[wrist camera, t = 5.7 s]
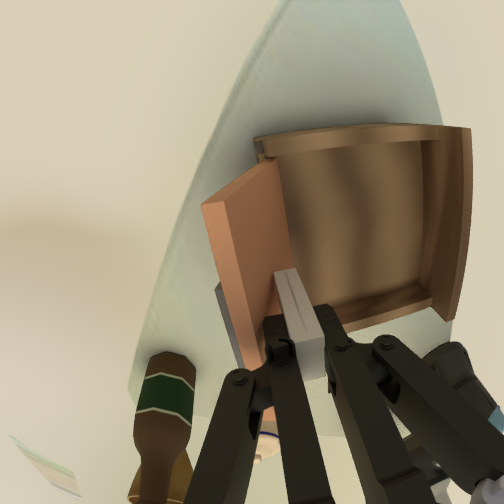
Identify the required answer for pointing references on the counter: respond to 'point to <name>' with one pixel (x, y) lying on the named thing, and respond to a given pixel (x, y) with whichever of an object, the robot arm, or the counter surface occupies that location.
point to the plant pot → (177, 482)
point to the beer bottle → (163, 422)
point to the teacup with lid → (267, 441)
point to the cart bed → (377, 216)
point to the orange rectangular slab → (249, 257)
